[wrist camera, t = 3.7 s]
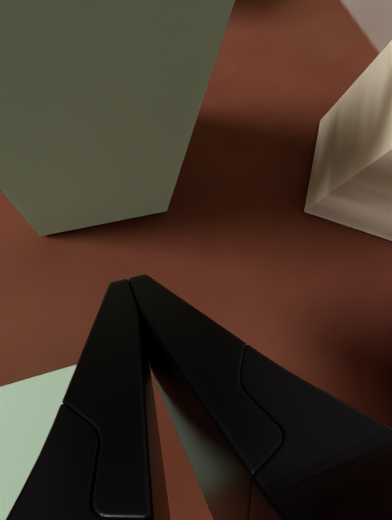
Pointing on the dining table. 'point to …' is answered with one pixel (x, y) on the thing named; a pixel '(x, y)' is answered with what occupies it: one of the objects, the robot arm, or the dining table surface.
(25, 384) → the sage tile
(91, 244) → the dining table surface
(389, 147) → the cream block
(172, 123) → the sage block
